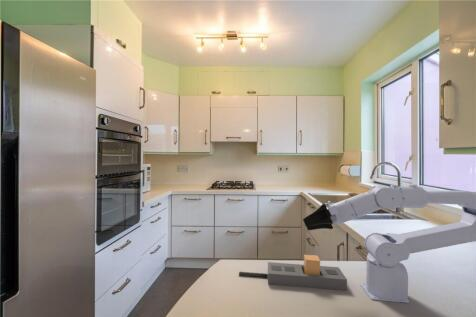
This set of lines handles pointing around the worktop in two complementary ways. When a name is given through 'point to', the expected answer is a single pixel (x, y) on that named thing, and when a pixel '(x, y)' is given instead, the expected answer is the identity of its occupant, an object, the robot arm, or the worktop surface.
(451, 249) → the worktop surface
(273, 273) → the power strip
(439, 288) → the worktop surface
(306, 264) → the orange rectangular block
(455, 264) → the worktop surface
